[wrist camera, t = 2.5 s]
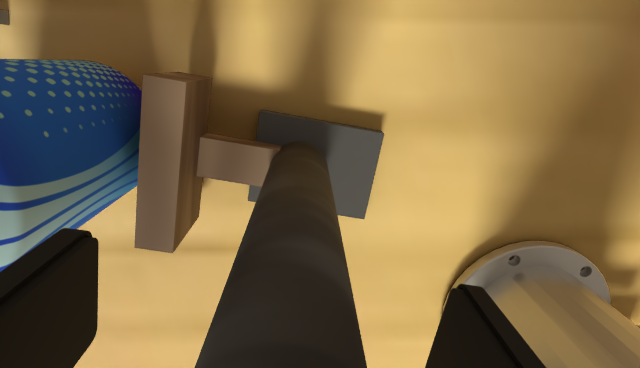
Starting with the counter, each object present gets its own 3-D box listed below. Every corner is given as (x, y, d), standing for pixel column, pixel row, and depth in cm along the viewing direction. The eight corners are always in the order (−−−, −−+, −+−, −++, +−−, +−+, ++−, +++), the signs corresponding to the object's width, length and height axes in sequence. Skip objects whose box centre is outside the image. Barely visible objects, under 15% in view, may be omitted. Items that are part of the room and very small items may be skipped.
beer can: (182, 89, 25) (-23, 131, 9) (151, 205, 27) (-55, 393, 12) (46, 39, 23) (-439, -6, 8) (25, 165, 26) (-386, 314, 10)
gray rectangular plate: (381, 131, 26) (384, 133, 25) (362, 213, 27) (364, 219, 27) (261, 109, 25) (259, 111, 24) (249, 195, 27) (247, 200, 26)
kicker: (340, 101, 24) (436, 216, 6) (314, 234, 26) (329, 588, 9) (178, 72, 23) (-265, 101, 5) (168, 211, 26) (-151, 550, 8)
